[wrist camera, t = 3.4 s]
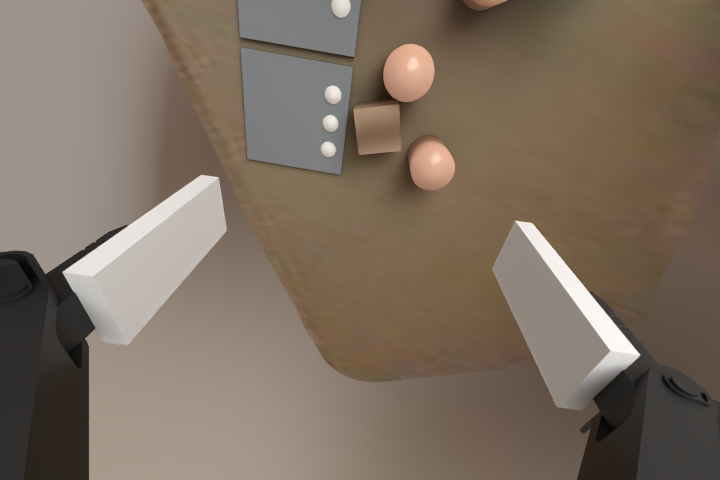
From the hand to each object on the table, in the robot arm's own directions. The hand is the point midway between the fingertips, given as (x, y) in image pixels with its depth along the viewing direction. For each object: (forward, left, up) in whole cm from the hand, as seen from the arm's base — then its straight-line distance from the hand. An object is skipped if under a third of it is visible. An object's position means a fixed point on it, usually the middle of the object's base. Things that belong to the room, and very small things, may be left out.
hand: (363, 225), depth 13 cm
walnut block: (+1, 0, -28) cm, 28 cm away
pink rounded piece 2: (+4, +7, -28) cm, 29 cm away
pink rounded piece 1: (-5, +2, -28) cm, 28 cm away
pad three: (+2, -10, -28) cm, 30 cm away
